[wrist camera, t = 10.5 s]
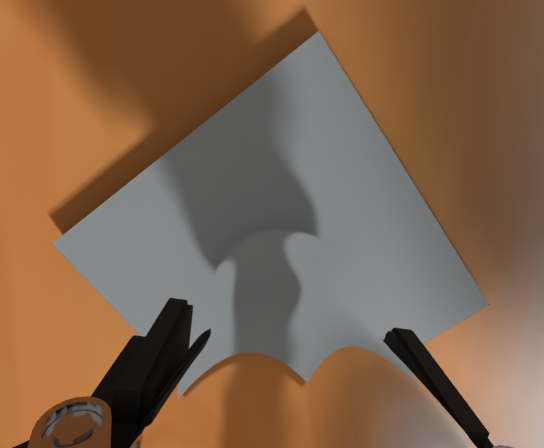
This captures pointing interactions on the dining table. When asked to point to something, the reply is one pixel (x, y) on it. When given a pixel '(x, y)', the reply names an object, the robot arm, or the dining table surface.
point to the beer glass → (291, 364)
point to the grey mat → (277, 207)
